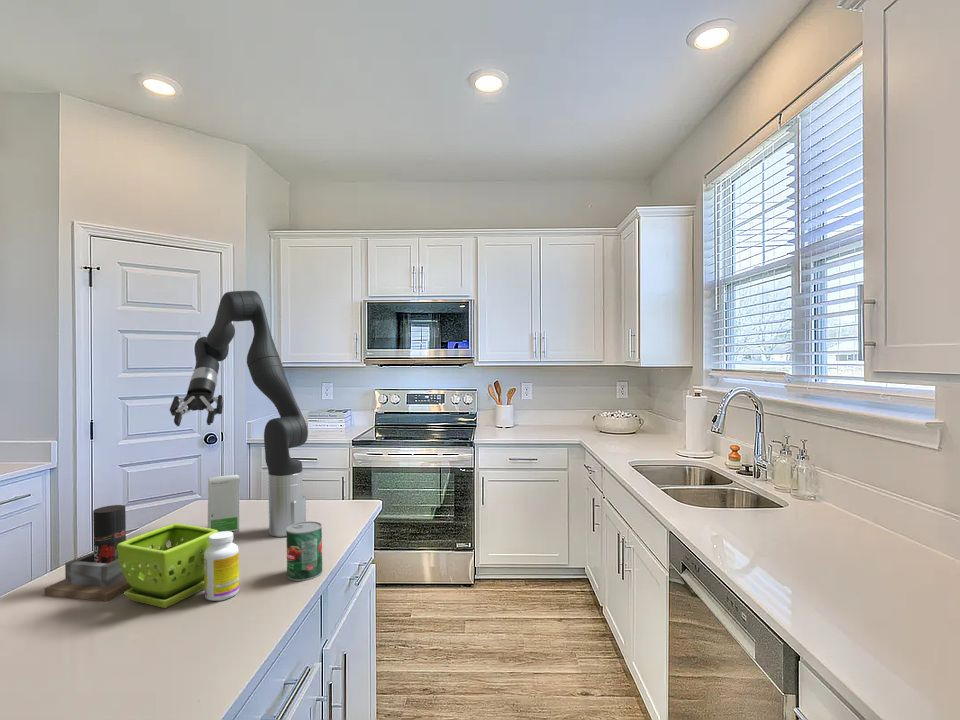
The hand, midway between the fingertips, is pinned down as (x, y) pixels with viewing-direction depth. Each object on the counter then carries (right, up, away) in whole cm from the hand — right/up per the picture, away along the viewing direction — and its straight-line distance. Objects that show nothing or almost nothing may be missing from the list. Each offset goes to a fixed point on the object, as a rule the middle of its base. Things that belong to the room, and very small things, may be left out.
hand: (193, 424), depth 155 cm
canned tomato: (+46, -31, -36) cm, 66 cm away
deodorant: (+3, -30, -39) cm, 49 cm away
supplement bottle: (+32, -31, -46) cm, 64 cm away
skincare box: (+12, -31, -5) cm, 33 cm away
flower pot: (+21, -31, -46) cm, 59 cm away
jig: (+4, -31, -36) cm, 48 cm away
